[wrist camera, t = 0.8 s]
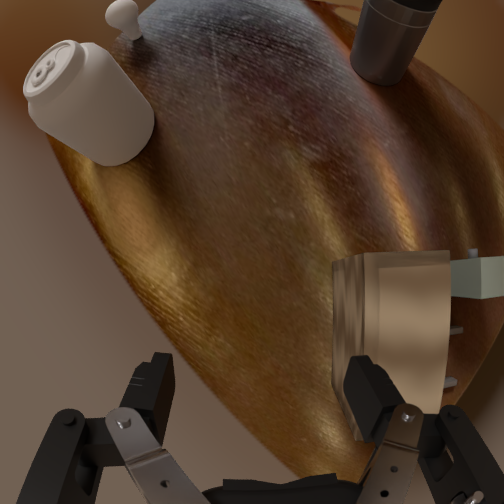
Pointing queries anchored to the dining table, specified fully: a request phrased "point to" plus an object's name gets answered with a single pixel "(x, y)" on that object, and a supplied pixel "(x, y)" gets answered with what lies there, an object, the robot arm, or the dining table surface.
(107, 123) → the can
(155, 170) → the dining table surface
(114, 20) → the lightbulb
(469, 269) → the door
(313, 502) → the robot arm
